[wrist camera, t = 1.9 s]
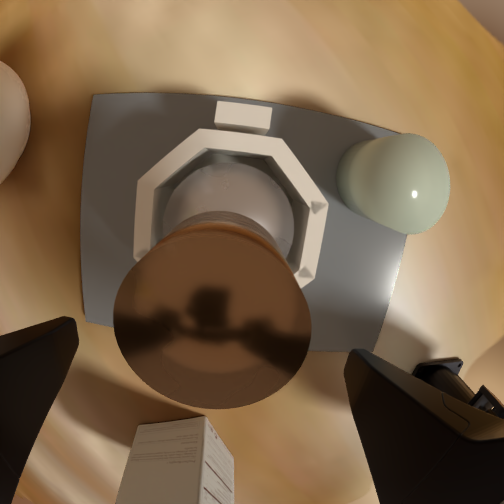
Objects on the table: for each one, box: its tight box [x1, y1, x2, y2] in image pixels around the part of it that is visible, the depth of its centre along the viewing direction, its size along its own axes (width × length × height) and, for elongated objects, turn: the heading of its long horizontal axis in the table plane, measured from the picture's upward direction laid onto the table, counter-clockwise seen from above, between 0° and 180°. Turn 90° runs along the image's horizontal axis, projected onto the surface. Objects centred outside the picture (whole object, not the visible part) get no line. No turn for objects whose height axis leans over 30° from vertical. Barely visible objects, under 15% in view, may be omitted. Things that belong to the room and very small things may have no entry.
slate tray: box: [80, 93, 407, 352], centre depth 18 cm, size 22×16×1 cm
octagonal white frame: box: [133, 101, 329, 288], centre depth 15 cm, size 8×10×5 cm
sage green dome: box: [336, 133, 450, 234], centre depth 15 cm, size 5×5×5 cm
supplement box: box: [115, 416, 234, 504], centre depth 18 cm, size 7×7×13 cm
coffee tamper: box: [113, 162, 312, 409], centre depth 9 cm, size 6×6×9 cm
